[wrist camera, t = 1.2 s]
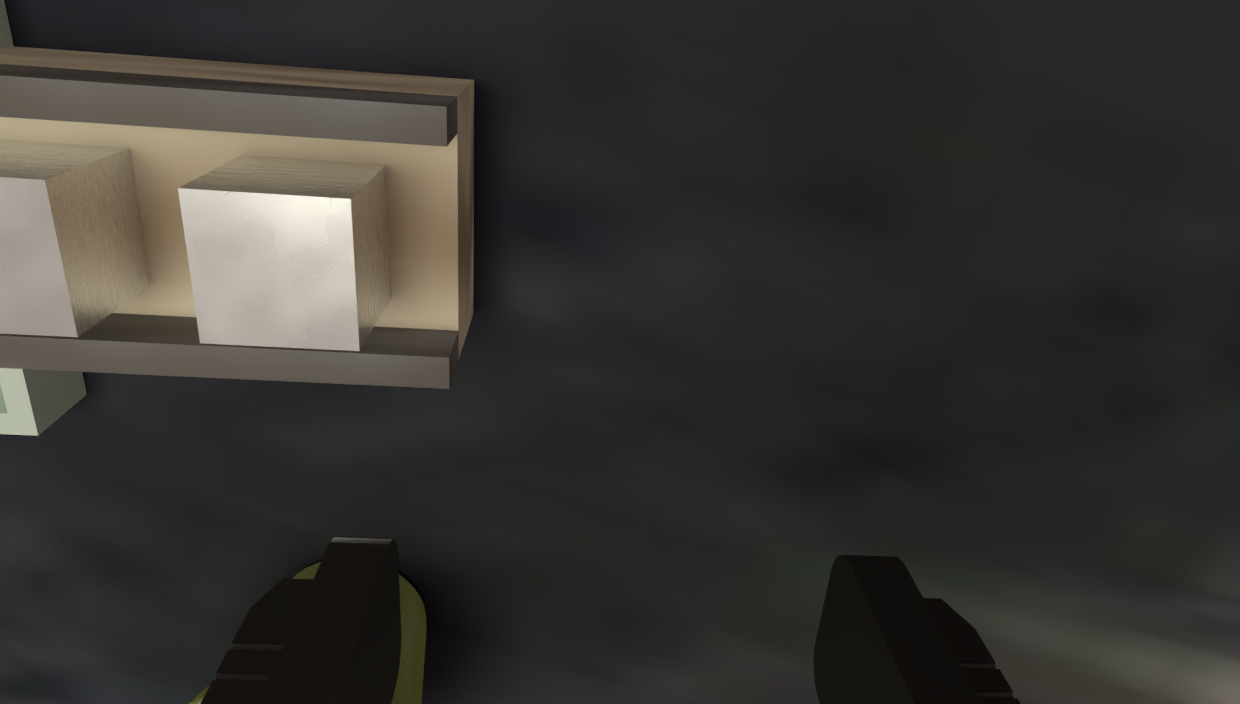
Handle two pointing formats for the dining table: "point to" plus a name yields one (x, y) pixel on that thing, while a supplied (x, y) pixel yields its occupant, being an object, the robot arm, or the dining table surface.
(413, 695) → the plant pot
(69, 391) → the tray
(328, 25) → the dining table surface
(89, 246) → the pale grey cube
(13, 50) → the slot board
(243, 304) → the light grey cube
